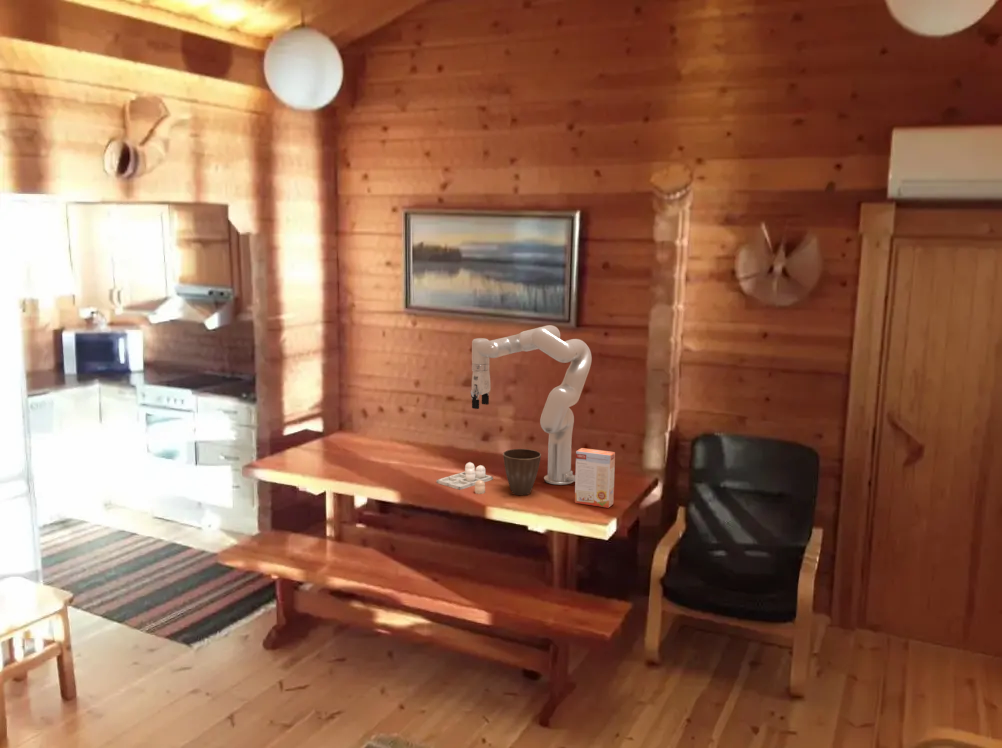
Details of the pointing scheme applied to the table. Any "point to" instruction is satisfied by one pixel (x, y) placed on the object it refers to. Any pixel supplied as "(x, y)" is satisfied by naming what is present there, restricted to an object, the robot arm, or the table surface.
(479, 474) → the cream egg
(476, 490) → the tan egg
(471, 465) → the cream egg
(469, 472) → the cream egg
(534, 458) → the plant pot
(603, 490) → the cracker box
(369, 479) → the table surface
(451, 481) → the white egg tray
